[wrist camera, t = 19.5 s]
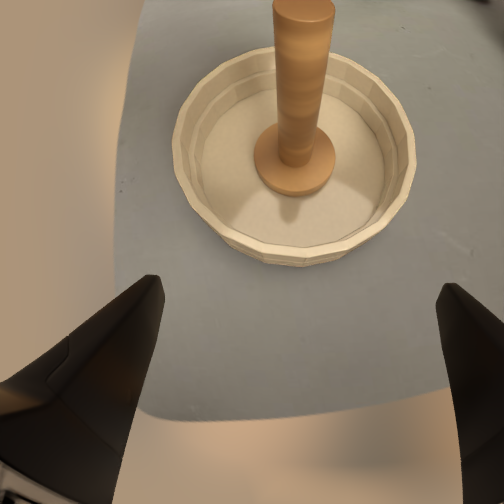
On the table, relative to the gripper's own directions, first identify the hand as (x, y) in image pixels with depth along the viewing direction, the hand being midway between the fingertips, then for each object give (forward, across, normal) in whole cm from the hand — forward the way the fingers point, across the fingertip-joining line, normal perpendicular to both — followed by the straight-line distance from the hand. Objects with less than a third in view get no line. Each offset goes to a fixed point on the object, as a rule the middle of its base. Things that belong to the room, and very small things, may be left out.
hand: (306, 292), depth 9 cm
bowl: (+17, 0, +2) cm, 17 cm away
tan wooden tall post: (+16, 0, +2) cm, 16 cm away
